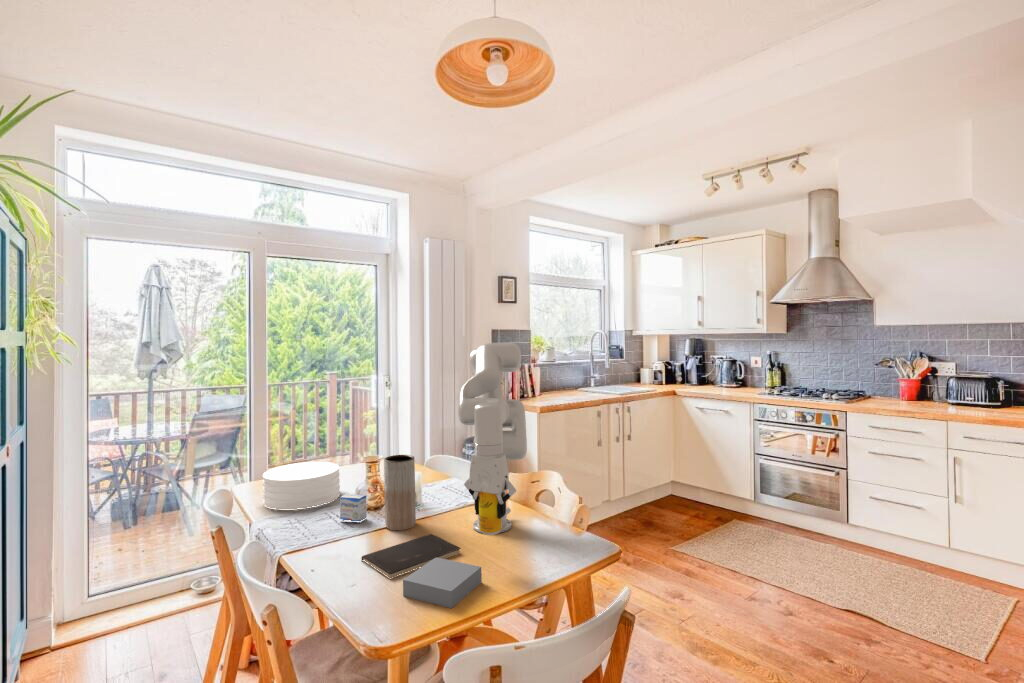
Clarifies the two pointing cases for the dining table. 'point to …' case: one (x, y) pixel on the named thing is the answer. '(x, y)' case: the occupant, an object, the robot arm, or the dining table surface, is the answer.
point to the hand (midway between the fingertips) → (490, 514)
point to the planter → (399, 492)
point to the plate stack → (301, 485)
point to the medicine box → (353, 507)
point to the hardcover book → (410, 555)
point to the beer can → (488, 512)
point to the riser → (442, 582)
